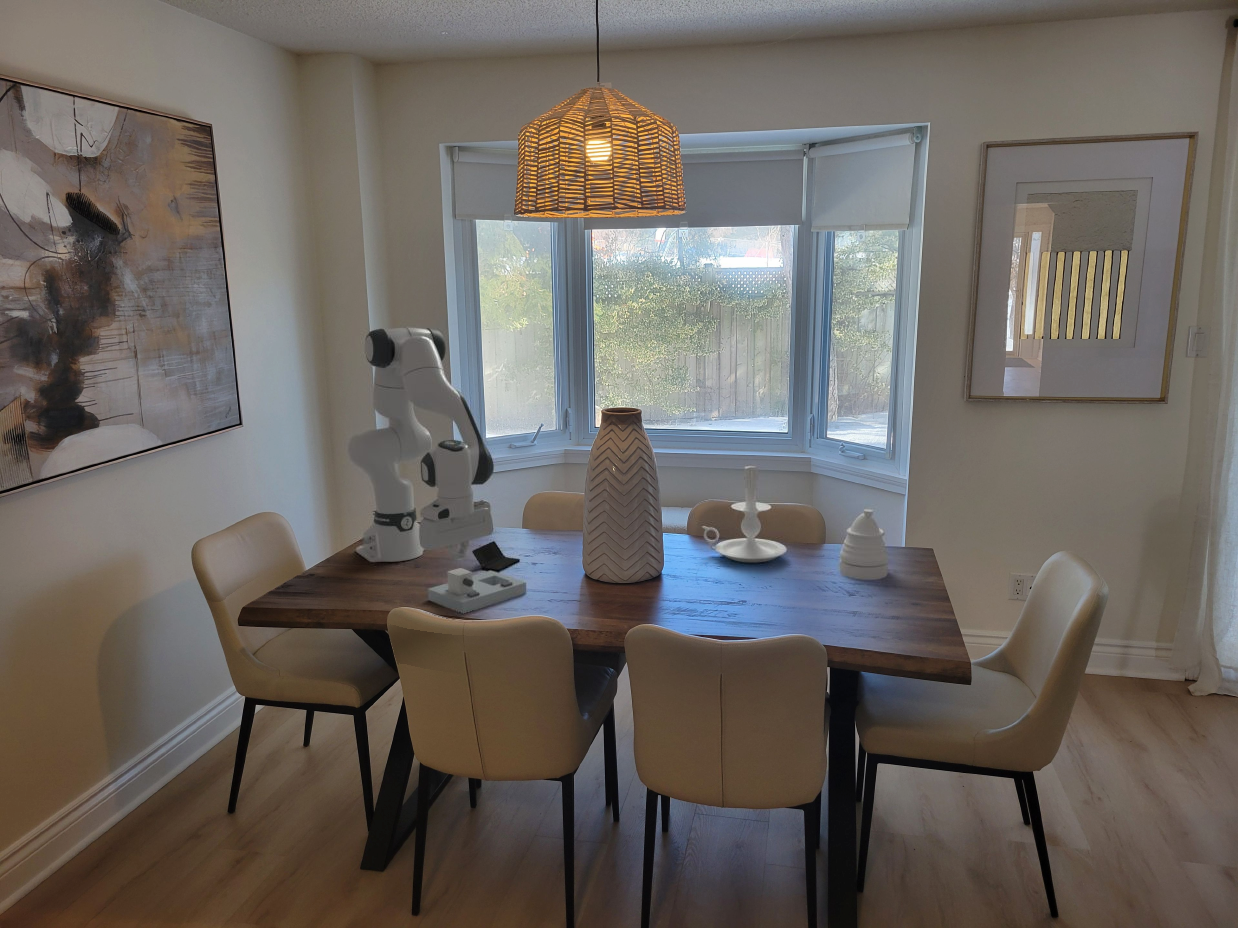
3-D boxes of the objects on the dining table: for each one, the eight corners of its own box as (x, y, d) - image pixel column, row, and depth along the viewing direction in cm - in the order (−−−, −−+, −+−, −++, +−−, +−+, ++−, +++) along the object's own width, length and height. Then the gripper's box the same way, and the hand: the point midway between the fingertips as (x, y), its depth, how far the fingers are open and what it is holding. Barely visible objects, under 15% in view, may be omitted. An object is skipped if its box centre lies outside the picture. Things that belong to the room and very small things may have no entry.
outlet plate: (428, 599, 220) (427, 586, 220) (491, 580, 234) (490, 568, 234) (463, 614, 210) (462, 600, 209) (526, 593, 224) (525, 580, 223)
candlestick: (710, 544, 264) (710, 455, 259) (791, 551, 256) (793, 459, 251) (693, 564, 245) (693, 468, 240) (780, 572, 237) (782, 473, 232)
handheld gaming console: (506, 567, 241) (486, 538, 242) (487, 581, 243) (468, 552, 244) (523, 561, 252) (504, 533, 253) (505, 574, 254) (486, 546, 255)
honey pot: (895, 578, 230) (898, 513, 227) (849, 580, 229) (851, 515, 226) (876, 563, 243) (879, 502, 239) (832, 566, 242) (834, 504, 238)
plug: (449, 601, 219) (447, 571, 217) (462, 597, 222) (460, 567, 220) (465, 608, 214) (463, 577, 212) (478, 603, 217) (476, 573, 215)
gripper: (482, 496, 223) (484, 547, 226) (414, 511, 209) (417, 566, 211) (497, 500, 219) (499, 552, 221) (428, 515, 204) (432, 571, 207)
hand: (459, 559), depth 216 cm, fingers closed
